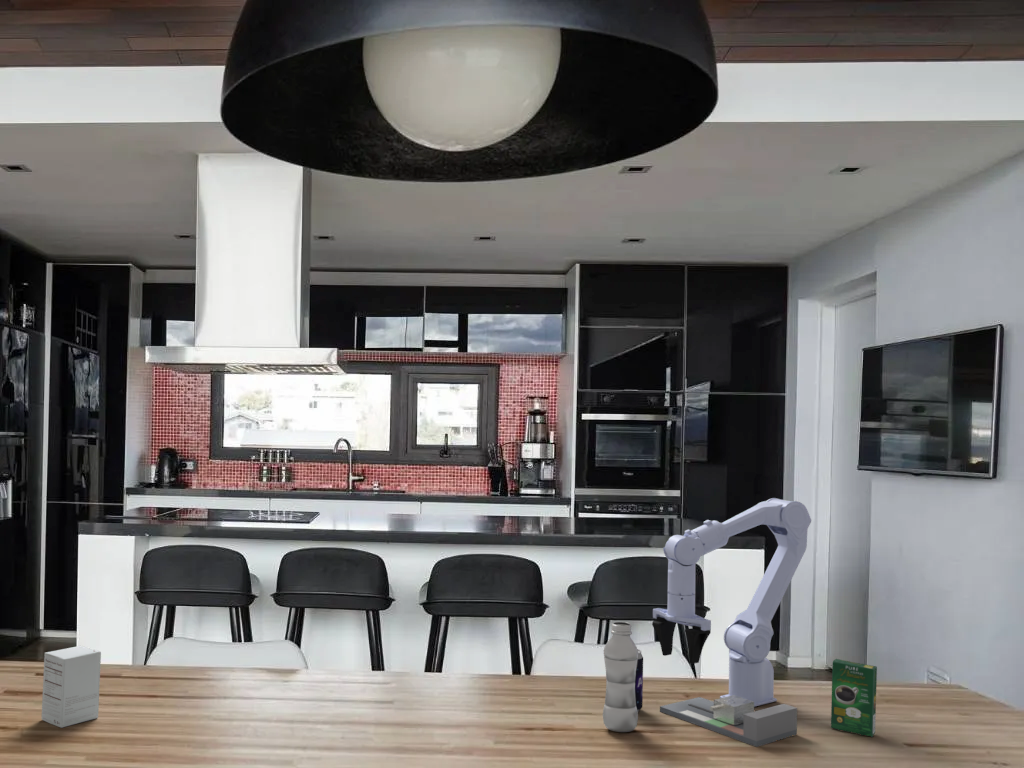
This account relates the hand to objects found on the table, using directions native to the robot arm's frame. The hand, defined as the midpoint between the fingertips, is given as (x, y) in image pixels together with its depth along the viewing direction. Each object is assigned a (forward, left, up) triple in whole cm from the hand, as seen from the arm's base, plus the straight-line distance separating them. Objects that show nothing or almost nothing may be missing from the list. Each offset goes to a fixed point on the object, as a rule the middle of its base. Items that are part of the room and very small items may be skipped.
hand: (680, 658), depth 185 cm
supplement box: (+106, -56, -10) cm, 120 cm away
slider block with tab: (+3, +15, -8) cm, 17 cm away
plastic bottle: (+22, +5, -10) cm, 25 cm away
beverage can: (+12, -3, -10) cm, 16 cm away
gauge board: (+1, +13, -9) cm, 16 cm away
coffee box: (-16, +30, -10) cm, 35 cm away
